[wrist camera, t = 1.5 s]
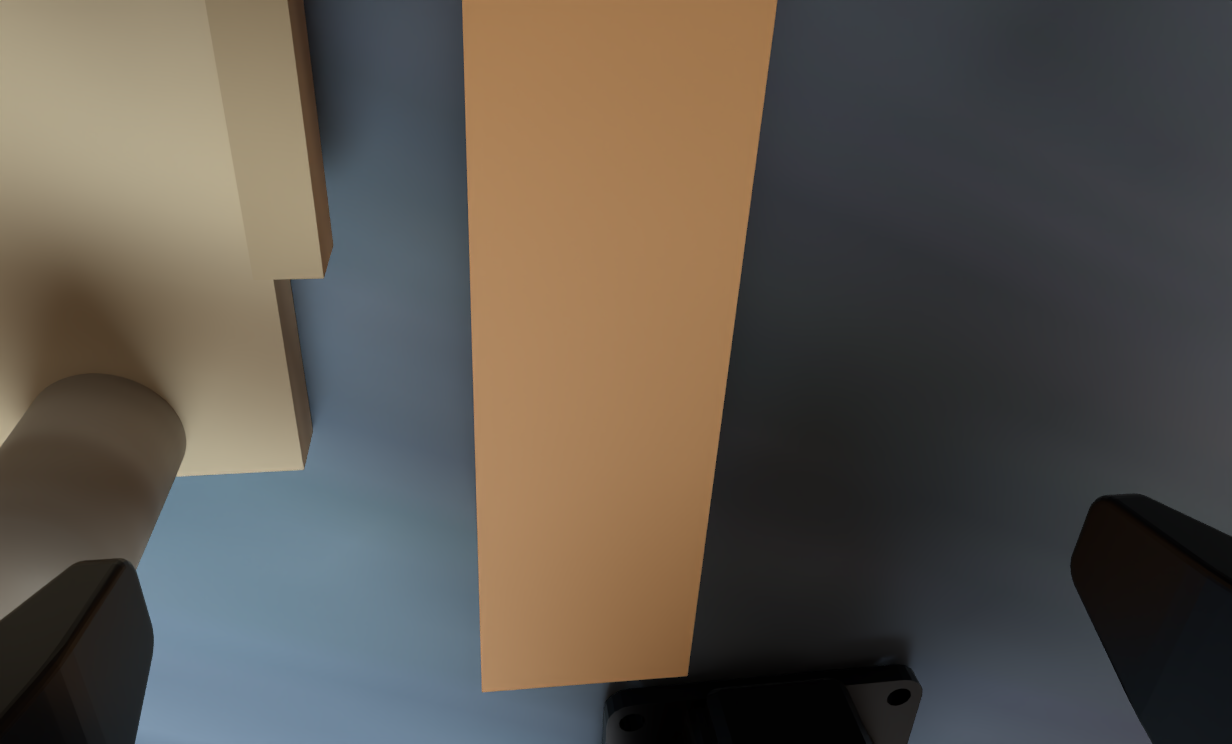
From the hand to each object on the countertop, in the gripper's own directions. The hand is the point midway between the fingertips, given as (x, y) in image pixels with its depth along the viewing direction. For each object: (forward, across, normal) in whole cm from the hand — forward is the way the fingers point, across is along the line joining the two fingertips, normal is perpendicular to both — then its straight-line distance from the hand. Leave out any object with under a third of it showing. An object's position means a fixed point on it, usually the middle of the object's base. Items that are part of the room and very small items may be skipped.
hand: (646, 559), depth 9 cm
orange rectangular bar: (+6, 0, 0) cm, 6 cm away
